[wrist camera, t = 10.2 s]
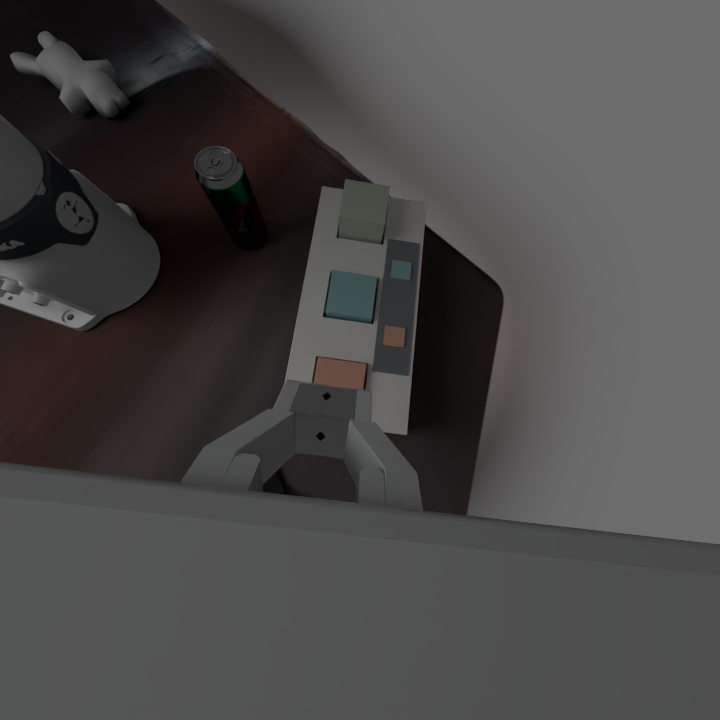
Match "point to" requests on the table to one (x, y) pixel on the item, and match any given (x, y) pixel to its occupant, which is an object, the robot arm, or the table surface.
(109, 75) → the bunny figurine
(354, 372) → the terracotta key
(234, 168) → the soda can
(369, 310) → the teal key
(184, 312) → the table surface
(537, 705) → the robot arm
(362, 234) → the sage green key
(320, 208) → the keypad
